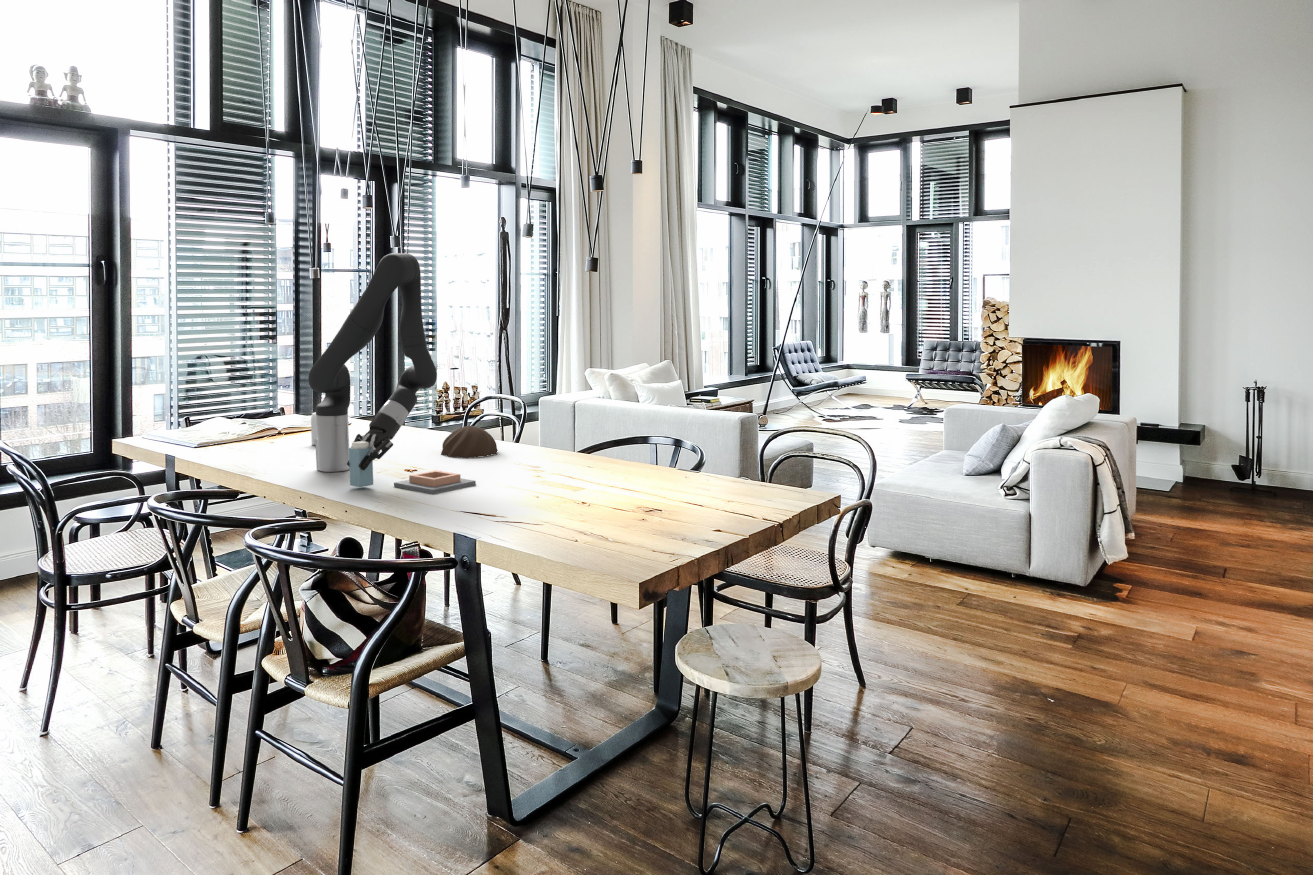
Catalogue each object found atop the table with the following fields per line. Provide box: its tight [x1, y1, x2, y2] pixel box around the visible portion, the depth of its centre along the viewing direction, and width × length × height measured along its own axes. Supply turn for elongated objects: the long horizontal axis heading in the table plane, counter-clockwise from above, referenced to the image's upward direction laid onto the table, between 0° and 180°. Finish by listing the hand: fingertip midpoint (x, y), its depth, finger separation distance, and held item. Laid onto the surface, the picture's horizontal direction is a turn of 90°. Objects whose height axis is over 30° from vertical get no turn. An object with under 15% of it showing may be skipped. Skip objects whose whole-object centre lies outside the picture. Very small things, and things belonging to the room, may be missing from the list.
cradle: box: [393, 469, 477, 495], centre depth 255 cm, size 16×16×3 cm
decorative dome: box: [440, 425, 499, 459], centre depth 311 cm, size 19×20×10 cm
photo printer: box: [310, 411, 317, 446], centre depth 326 cm, size 10×4×12 cm, turn 123°
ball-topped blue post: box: [348, 441, 374, 488], centre depth 249 cm, size 4×4×12 cm
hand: (355, 467), depth 248 cm, fingers closed on ball-topped blue post, 4 cm apart
